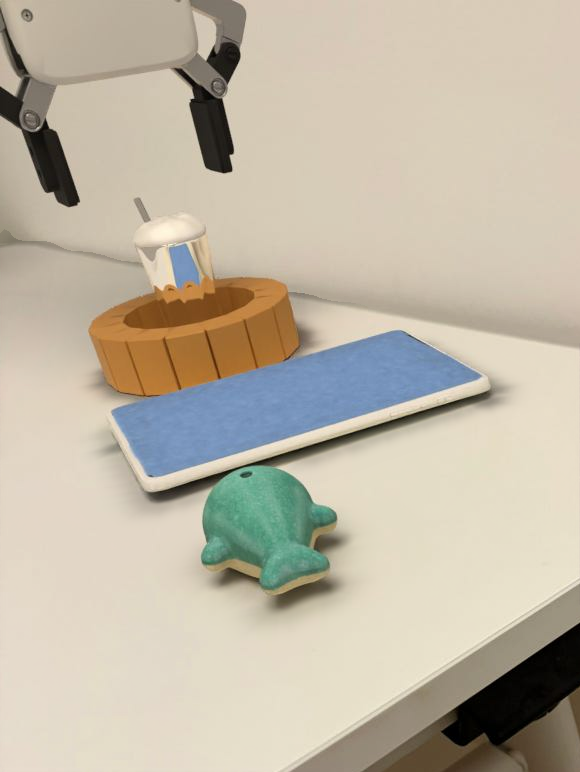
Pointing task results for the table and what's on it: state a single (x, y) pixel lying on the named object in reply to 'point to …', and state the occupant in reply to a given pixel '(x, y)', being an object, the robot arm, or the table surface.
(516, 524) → the table surface
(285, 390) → the tablet
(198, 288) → the milkshake
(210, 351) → the segmented bracelet
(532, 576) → the table surface
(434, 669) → the table surface
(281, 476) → the whale figurine
